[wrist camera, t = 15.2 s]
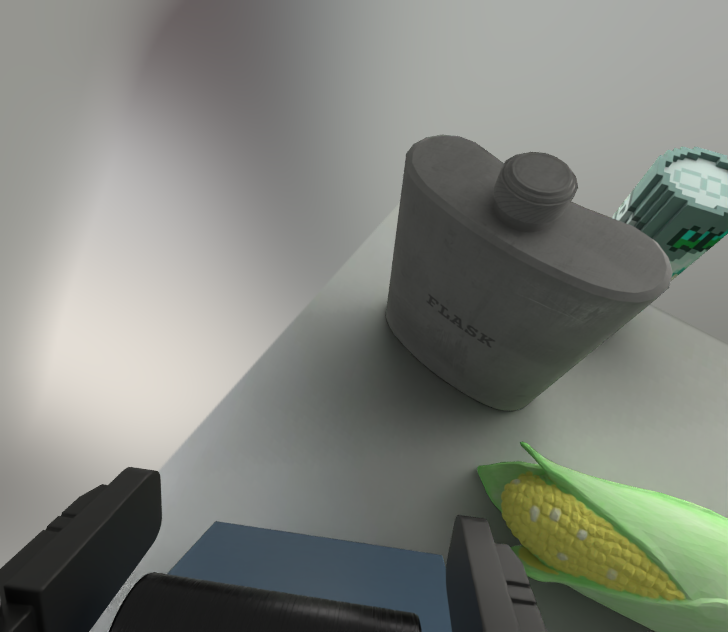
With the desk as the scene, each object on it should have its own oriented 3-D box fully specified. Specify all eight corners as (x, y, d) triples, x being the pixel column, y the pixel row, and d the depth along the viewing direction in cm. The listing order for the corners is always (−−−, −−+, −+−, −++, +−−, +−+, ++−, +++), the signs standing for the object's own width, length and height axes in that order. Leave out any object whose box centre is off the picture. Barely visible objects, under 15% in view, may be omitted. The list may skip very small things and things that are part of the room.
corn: (860, 776, 19) (460, 584, 23) (743, 638, 27) (459, 512, 31) (942, 631, 19) (511, 456, 22) (797, 532, 26) (497, 415, 30)
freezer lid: (597, 1167, 6) (630, 759, 6) (-183, 995, 6) (-115, 632, 6) (440, 570, 20) (452, 462, 20) (213, 536, 20) (228, 431, 21)
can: (617, 340, 37) (760, 227, 24) (551, 314, 38) (652, 193, 25) (627, 291, 39) (760, 165, 26) (565, 268, 41) (663, 137, 28)
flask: (368, 323, 37) (379, 128, 20) (407, 284, 39) (448, 78, 22) (508, 432, 32) (684, 302, 15) (543, 381, 35) (733, 216, 17)
